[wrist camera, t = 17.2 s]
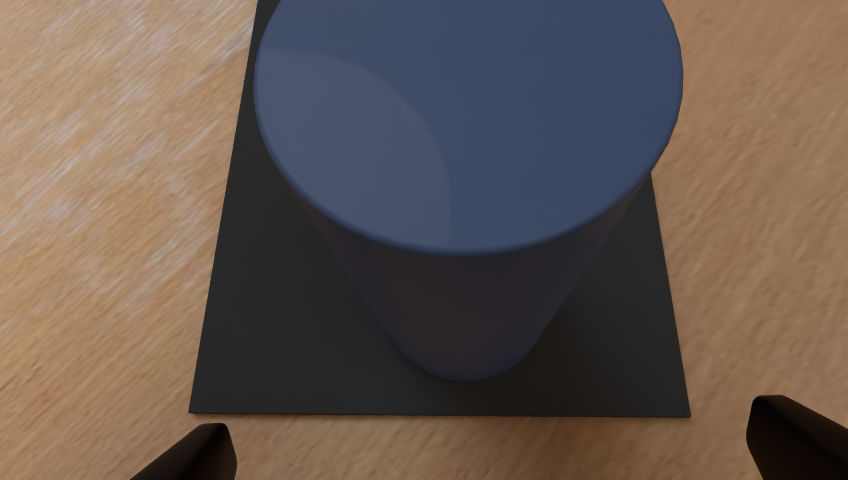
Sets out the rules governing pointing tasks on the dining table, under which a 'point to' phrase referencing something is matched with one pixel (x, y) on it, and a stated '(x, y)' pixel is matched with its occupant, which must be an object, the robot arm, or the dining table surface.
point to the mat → (371, 344)
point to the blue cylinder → (467, 153)
